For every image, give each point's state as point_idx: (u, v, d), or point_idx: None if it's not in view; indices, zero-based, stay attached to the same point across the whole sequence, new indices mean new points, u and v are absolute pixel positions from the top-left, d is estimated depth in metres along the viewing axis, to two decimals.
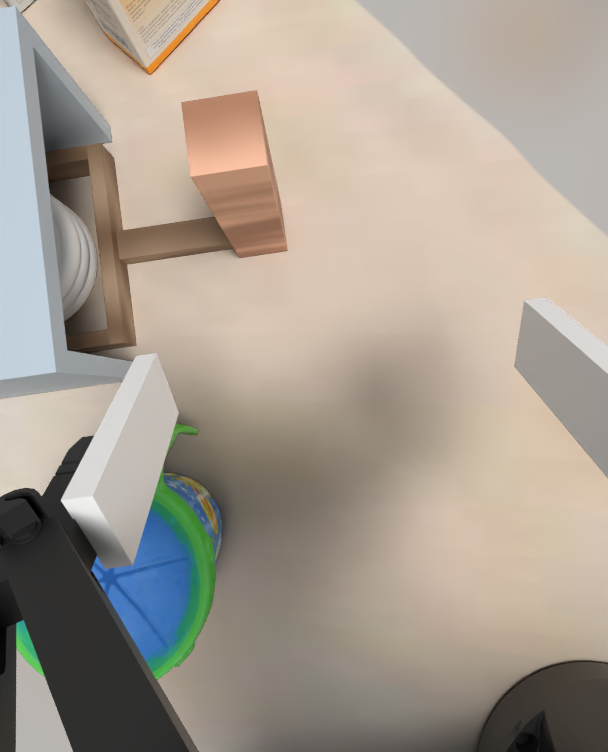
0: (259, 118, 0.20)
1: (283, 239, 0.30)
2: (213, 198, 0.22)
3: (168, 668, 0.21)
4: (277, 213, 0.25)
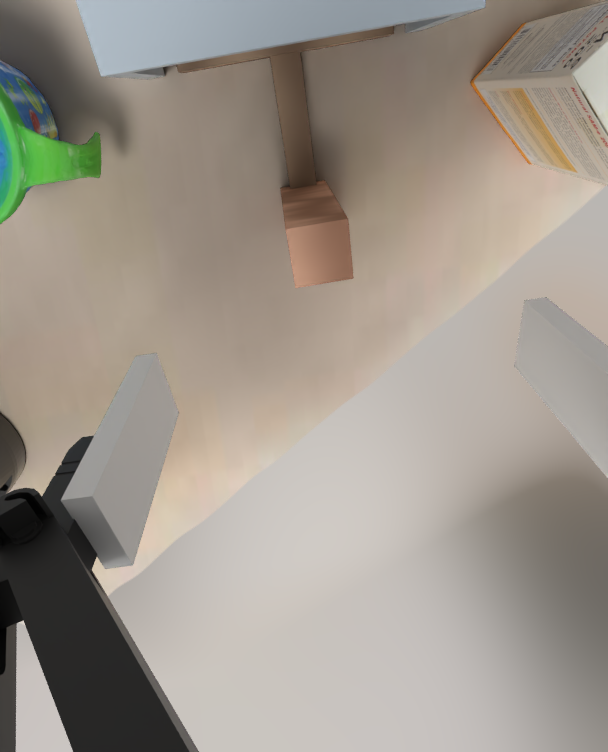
0: (331, 280, 0.26)
1: None
2: None
3: None
4: None
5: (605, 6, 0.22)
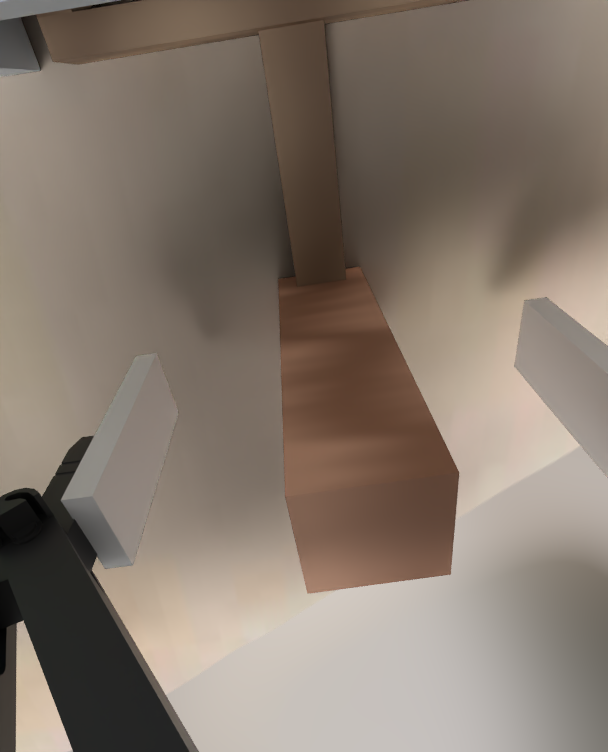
0: (397, 578, 0.11)
1: None
2: None
3: None
4: None
5: None
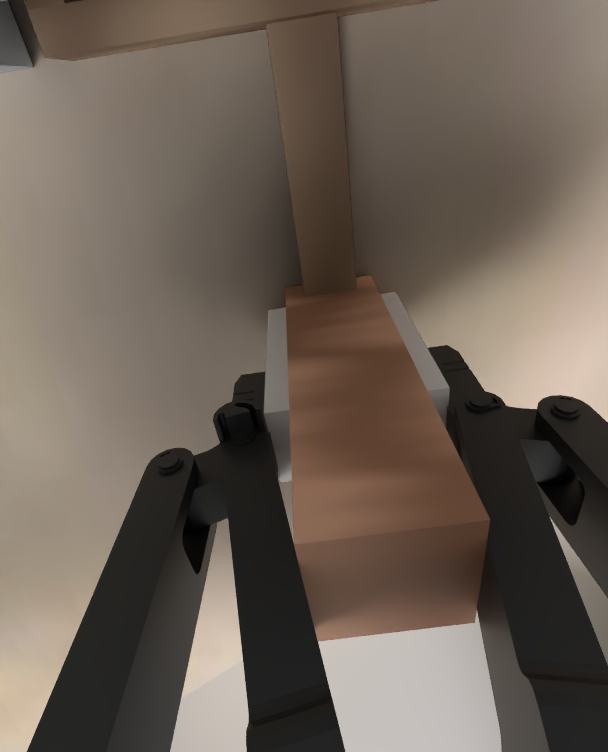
0: (415, 626, 0.10)
1: None
2: None
3: None
4: None
5: None
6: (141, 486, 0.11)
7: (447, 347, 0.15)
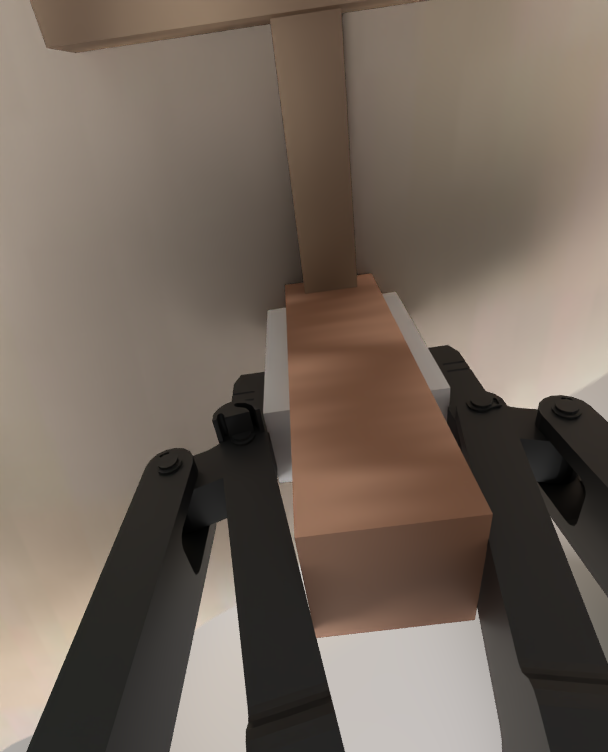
0: (415, 623, 0.10)
1: None
2: None
3: None
4: None
5: None
6: (141, 486, 0.11)
7: (447, 347, 0.15)
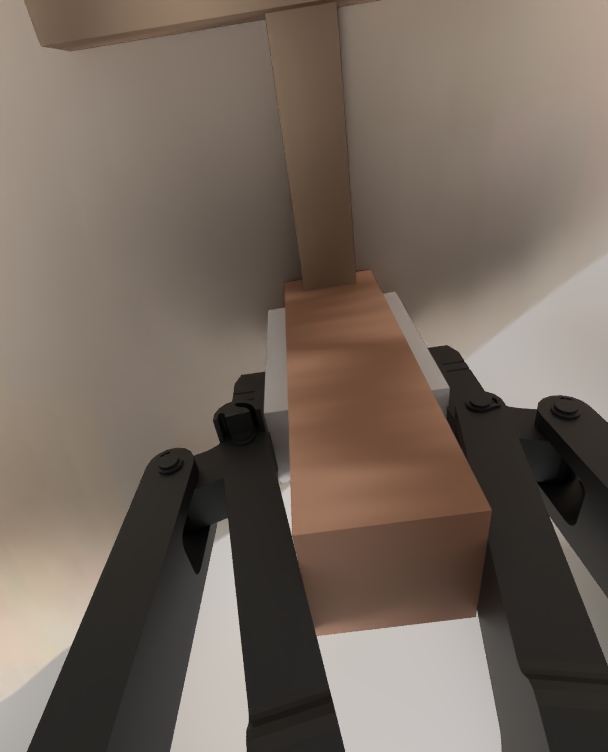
0: (415, 620, 0.10)
1: None
2: None
3: None
4: None
5: None
6: (141, 486, 0.11)
7: (447, 347, 0.15)
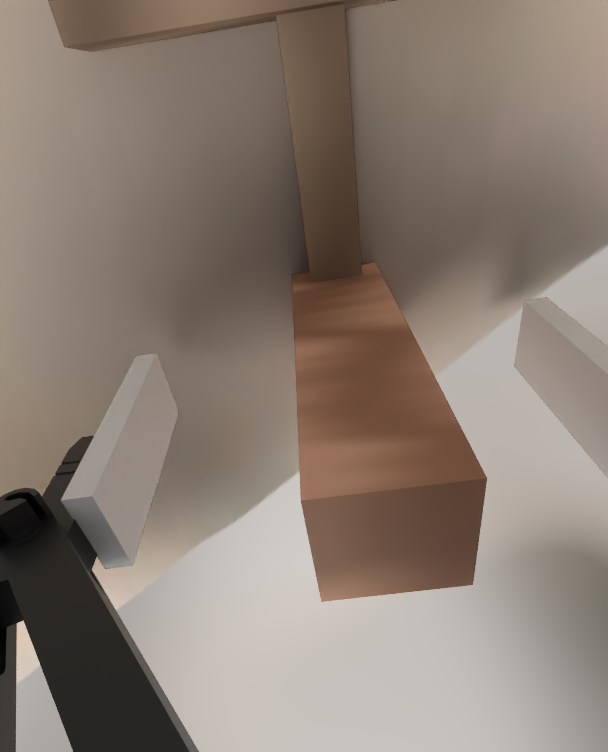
0: (416, 588, 0.10)
1: None
2: None
3: None
4: None
5: None
6: None
7: None
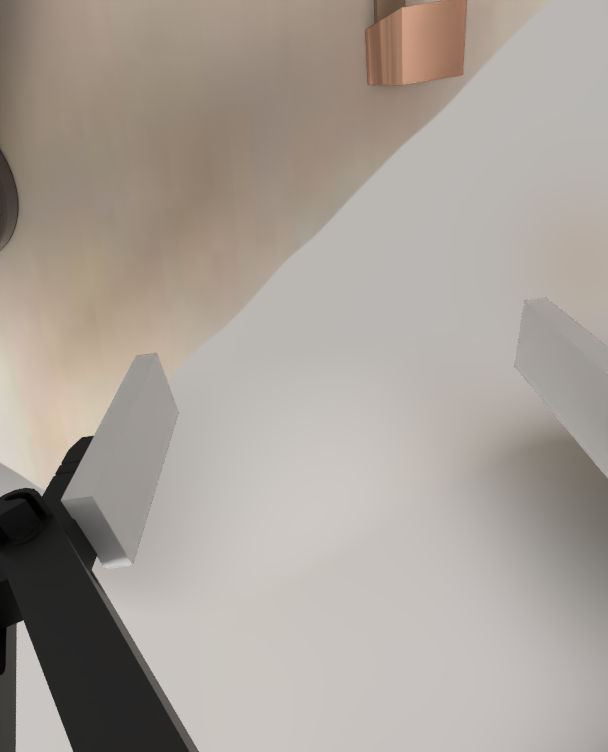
0: (440, 77, 0.26)
1: (372, 83, 0.34)
2: (392, 23, 0.26)
3: None
4: (384, 83, 0.30)
5: None
6: None
7: None
